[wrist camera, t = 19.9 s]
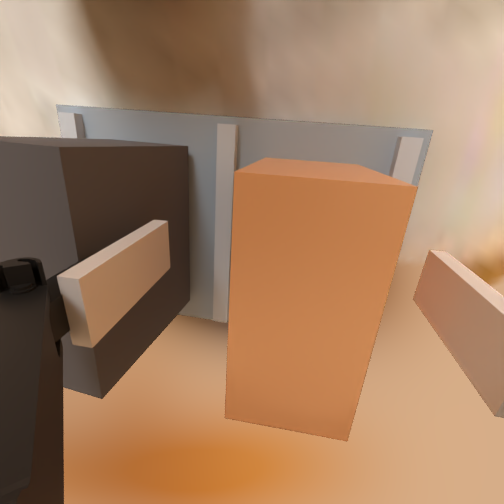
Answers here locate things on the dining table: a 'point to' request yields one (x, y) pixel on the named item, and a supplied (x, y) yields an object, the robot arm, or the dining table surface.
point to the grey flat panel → (234, 158)
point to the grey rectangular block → (97, 231)
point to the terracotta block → (308, 289)
